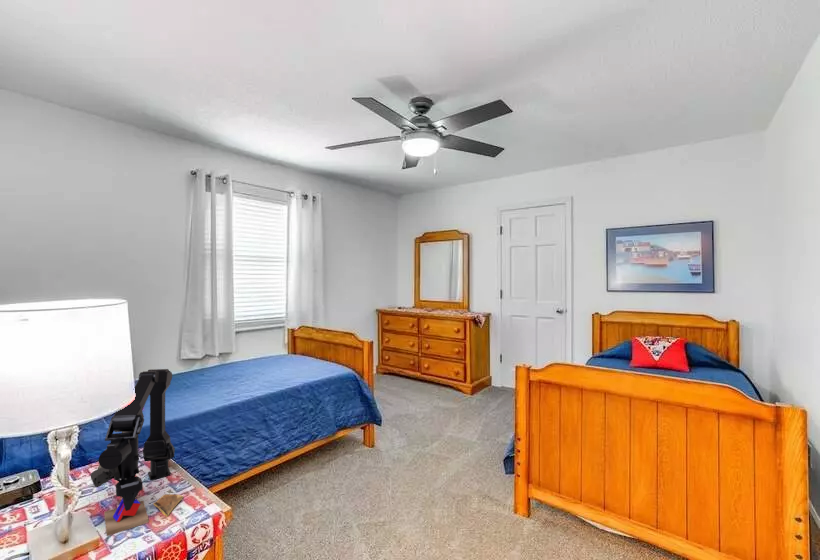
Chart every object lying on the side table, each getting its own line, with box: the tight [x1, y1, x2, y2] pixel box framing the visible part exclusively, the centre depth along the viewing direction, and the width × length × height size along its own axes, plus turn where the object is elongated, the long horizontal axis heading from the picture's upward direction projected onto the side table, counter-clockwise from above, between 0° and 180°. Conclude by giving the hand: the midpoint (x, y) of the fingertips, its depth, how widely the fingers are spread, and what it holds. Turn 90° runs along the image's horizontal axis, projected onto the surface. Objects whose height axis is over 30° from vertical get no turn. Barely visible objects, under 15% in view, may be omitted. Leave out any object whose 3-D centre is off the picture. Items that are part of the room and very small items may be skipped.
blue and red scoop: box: [113, 497, 141, 522], centre depth 121 cm, size 4×4×8 cm
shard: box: [153, 493, 184, 518], centre depth 127 cm, size 11×8×2 cm
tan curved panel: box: [103, 500, 150, 537], centre depth 121 cm, size 12×10×1 cm
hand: (126, 503), depth 121 cm, fingers open, 8 cm apart
